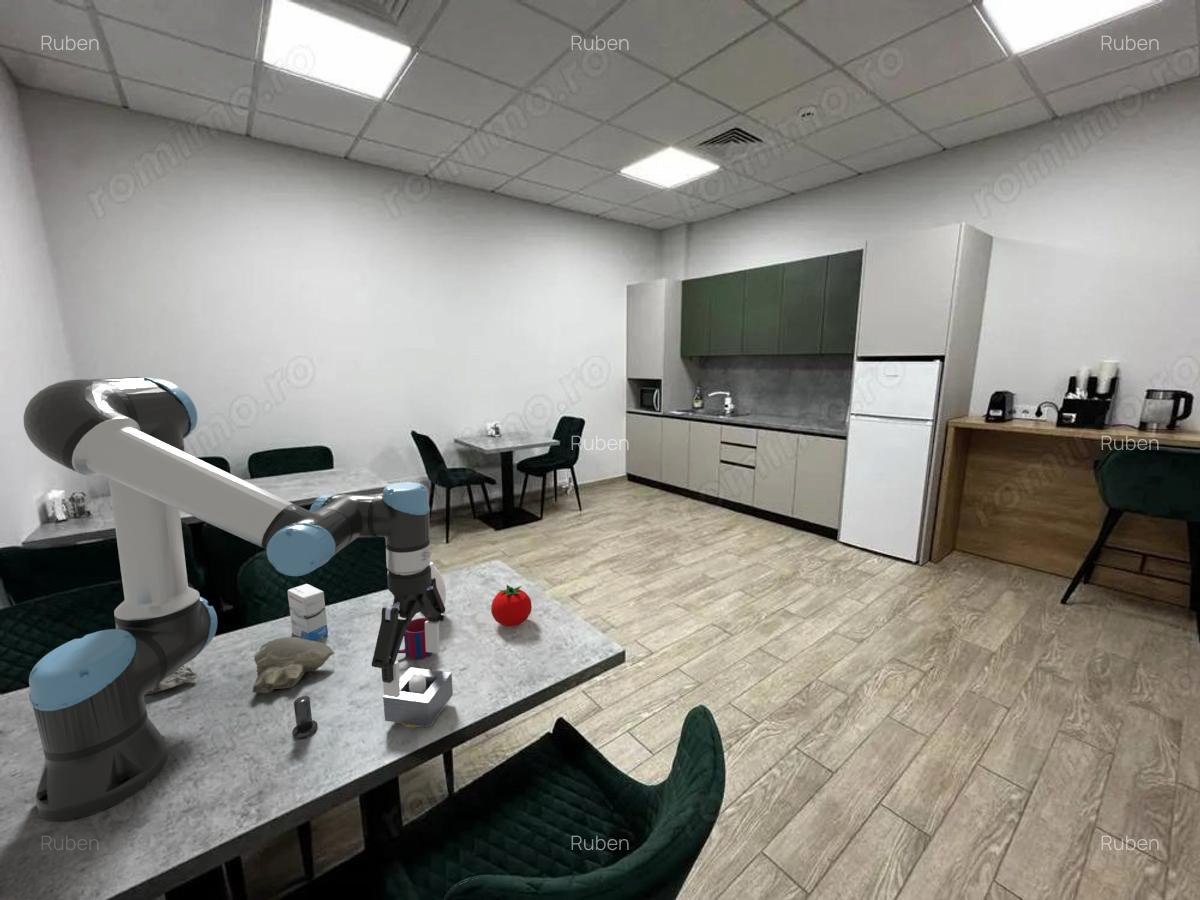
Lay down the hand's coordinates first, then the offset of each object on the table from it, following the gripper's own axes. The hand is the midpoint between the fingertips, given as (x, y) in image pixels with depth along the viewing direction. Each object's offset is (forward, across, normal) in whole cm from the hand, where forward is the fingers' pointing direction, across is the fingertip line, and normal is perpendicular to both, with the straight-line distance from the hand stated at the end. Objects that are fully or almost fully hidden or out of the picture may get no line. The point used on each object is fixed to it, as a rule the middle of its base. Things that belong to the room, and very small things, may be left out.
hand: (413, 672), depth 93 cm
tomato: (+9, +35, -6) cm, 37 cm away
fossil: (+10, +5, +32) cm, 34 cm away
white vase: (+10, +34, +16) cm, 39 cm away
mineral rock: (+11, -3, +58) cm, 60 cm away
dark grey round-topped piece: (+10, -8, +18) cm, 22 cm away
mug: (+10, +18, +12) cm, 24 cm away
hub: (+9, 0, -1) cm, 9 cm away
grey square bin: (+8, 0, -1) cm, 8 cm away
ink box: (+10, +20, +42) cm, 48 cm away
